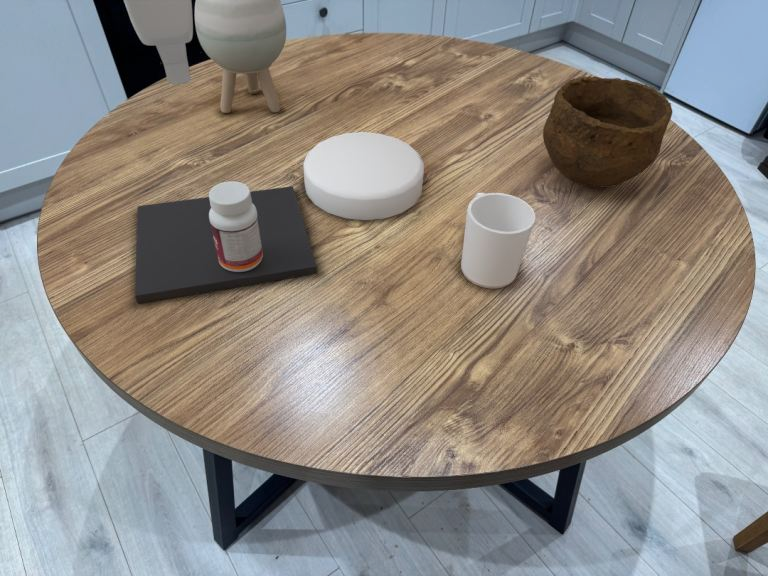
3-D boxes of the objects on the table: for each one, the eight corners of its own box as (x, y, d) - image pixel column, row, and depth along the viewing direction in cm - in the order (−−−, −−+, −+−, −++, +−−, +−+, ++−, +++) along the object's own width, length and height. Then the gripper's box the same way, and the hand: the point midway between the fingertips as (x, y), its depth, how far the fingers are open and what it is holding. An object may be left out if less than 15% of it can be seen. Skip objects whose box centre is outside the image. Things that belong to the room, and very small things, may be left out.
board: (137, 303, 75) (134, 295, 74) (139, 213, 89) (137, 205, 87) (317, 274, 80) (316, 266, 79) (293, 193, 94) (292, 185, 93)
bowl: (556, 213, 93) (582, 130, 82) (519, 152, 106) (538, 74, 95) (662, 206, 95) (701, 125, 85) (614, 147, 108) (642, 71, 98)
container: (433, 164, 102) (436, 140, 99) (406, 231, 88) (408, 206, 85) (327, 144, 105) (327, 121, 102) (286, 206, 91) (283, 181, 88)
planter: (302, 117, 112) (293, -5, 96) (219, 130, 107) (196, 4, 92) (280, 83, 123) (269, -32, 107) (204, 93, 118) (181, -26, 102)
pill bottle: (219, 246, 81) (205, 179, 73) (263, 243, 82) (253, 176, 74) (217, 275, 77) (202, 208, 69) (263, 272, 78) (253, 204, 70)
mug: (531, 283, 81) (548, 226, 73) (475, 297, 78) (487, 239, 71) (494, 236, 88) (506, 180, 81) (441, 248, 85) (449, 191, 78)
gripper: (97, -161, 46) (141, 16, 56) (73, -109, 33) (138, 115, 42) (177, -161, 48) (207, 12, 57) (188, -110, 34) (225, 107, 44)
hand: (178, 57), depth 50 cm, fingers open, 8 cm apart
